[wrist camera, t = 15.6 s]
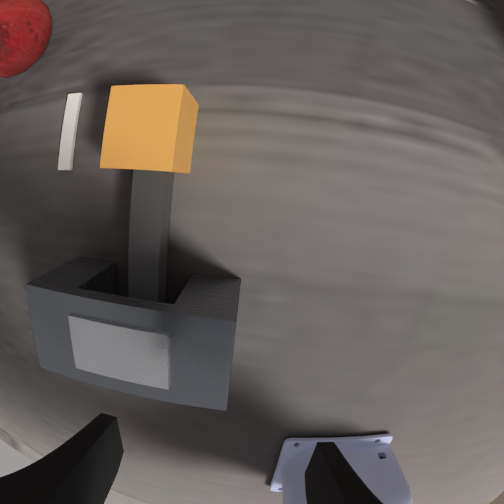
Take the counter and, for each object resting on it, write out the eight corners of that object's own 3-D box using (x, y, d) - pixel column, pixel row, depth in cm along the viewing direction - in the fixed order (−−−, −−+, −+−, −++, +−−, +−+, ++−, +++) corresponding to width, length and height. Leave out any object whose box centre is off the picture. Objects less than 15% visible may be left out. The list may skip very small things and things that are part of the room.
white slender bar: (82, 93, 15) (80, 92, 15) (72, 170, 17) (69, 170, 16) (70, 94, 15) (68, 93, 15) (60, 169, 17) (57, 170, 16)
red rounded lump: (81, 50, 15) (10, 4, 7) (22, 102, 15) (-57, 85, 8) (62, 4, 14) (3, -41, 6) (8, 52, 14) (-58, 28, 6)
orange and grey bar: (178, 378, 20) (165, 416, 16) (129, 369, 20) (109, 403, 16) (198, 104, 16) (183, 84, 12) (139, 103, 16) (111, 85, 12)
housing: (241, 278, 18) (236, 323, 12) (232, 352, 19) (226, 413, 13) (78, 256, 18) (23, 285, 12) (82, 326, 19) (38, 369, 13)
